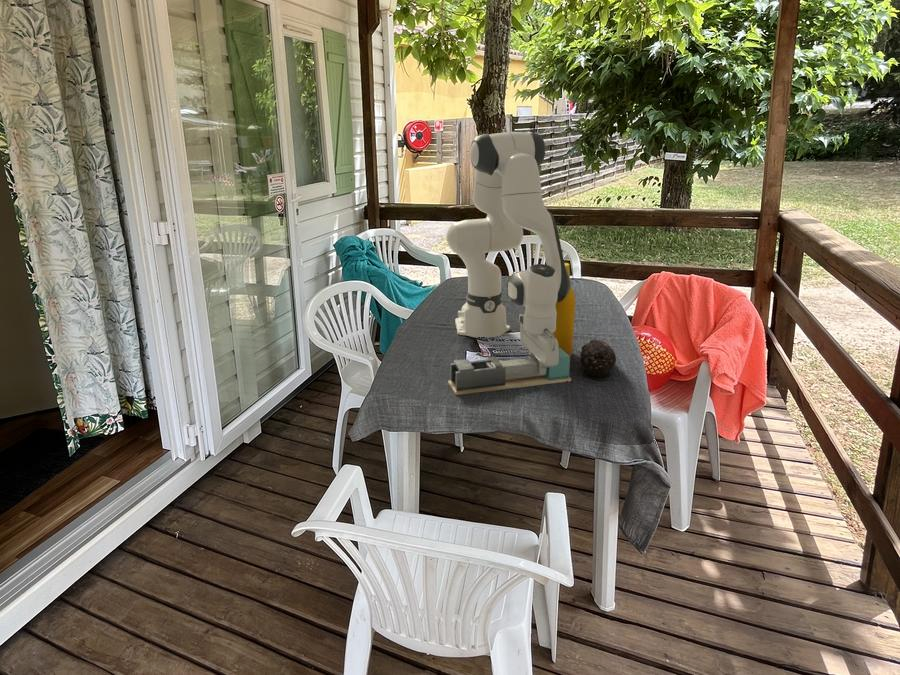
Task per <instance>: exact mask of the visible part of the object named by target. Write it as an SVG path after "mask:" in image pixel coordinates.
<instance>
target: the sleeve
mask: <svg viewBox="0 0 900 675" xmlns="http://www.w3.org/2000/svg"><path fill="white" fill-rule="evenodd" d="M499 361H500V359H499V358H497V357H496V356H495V355H494V356H493V355H491V356H488V357H487V359H481V360H480V359H479V360H472V361H471V360H469V359H468V358H467V359H465V358H464V359H455V360H453V363H449V366H450V367H449V368H450V371H449V372H450V373H449V376H450V377H449V378H450V379H449V380H450V381H451V383H452V385H453V386H454V388H455V389H456V391H462V390H471V389H479V388H488V387H496V386H505V378H506V367H505V366H502V364H501V363H500V362H499ZM488 362H490V363H491V364H492V365H493V366H494V367H492V368H486V363H488Z"/></svg>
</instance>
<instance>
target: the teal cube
mask: <svg viewBox="0 0 900 675" xmlns="http://www.w3.org/2000/svg"><path fill="white" fill-rule="evenodd" d="M570 365H571V356H569V355H568V354H567V353H565V352H564V351H563V350H562V349H561V348H559V363H558V365H557V366H554V367H548V375H544V376H545V377H546V378H547V379H548V380H556V379H565V378H569V377H570Z"/></svg>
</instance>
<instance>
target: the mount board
mask: <svg viewBox="0 0 900 675" xmlns="http://www.w3.org/2000/svg"><path fill="white" fill-rule="evenodd" d="M566 381H568V382H571V381H572V378H571V377H570V376H569V378H565V379H556V380H548V379H547V378H546V377H545V376H544V375H541V376H532V377H523V378H515V379H506V380H505V386H496V387H488V388H479V389H471V390H462V391H456V389H455V388H454V386H453V385H452V383H451V381H450V379H449V380H448V381H447V383H448V384H447V385H449V387H450V389H451V390H452V392H453V394H454V395H455V396H457V395H458V396H459V395H466V394H474V393H475V394H476V393H483V392H490V391H491V392H492V391H500V390H509V389H517V388H525V387H534V386H541V385H549V384H551V385H552V384H558V382H559V383H566Z"/></svg>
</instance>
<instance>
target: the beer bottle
mask: <svg viewBox="0 0 900 675" xmlns="http://www.w3.org/2000/svg"><path fill="white" fill-rule="evenodd" d="M564 263H565V267H566V270H567V273H568V276H569V279H570V280H571V272H570V263H568V262H564ZM556 312H557V316H556V331H555V332H553V333H552V334H553V335H554V337H555V338H556V339H557V341H558V347H559V348H561V349H562V350H563V351H564V352H565V353H567V354H568V355H569V356H570V357H571V356H572V354H573V348H574V347H573V346H574V328H575V314H576V296H575V292H574V289H573V287H572V286H571V288H570V291H569V293H568V295H567V296H566V297H565V299H564V300H563V301H561V302H556Z"/></svg>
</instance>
